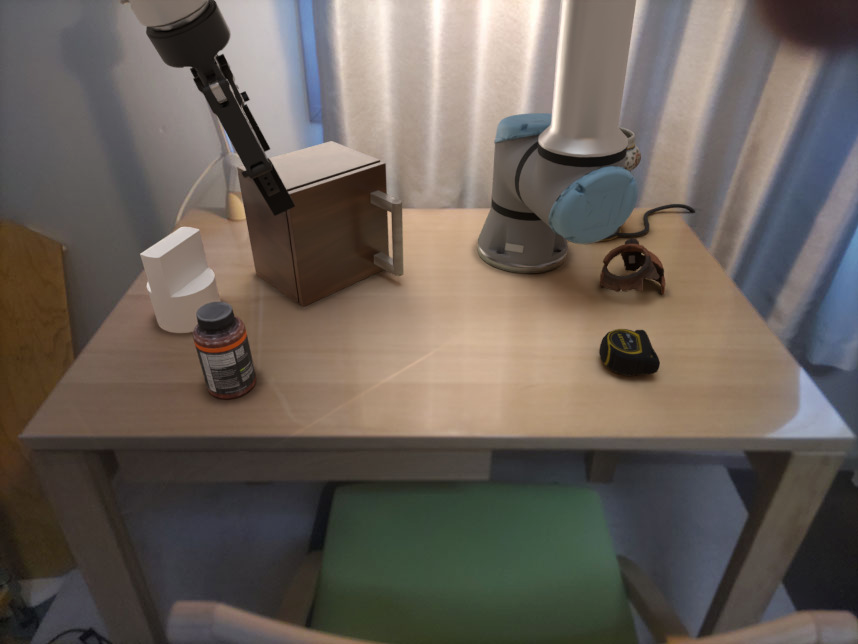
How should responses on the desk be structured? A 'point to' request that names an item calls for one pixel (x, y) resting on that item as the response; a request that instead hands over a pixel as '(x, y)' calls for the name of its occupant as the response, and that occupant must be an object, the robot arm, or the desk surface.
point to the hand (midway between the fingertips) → (271, 179)
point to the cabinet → (273, 231)
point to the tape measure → (629, 352)
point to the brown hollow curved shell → (633, 268)
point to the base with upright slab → (179, 279)
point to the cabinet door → (344, 232)
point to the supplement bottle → (223, 351)
